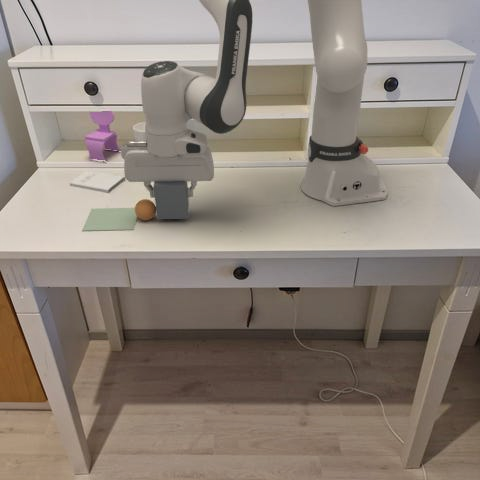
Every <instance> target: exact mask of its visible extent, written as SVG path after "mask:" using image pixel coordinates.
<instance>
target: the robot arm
mask: <svg viewBox="0 0 480 480" xmlns="http://www.w3.org/2000/svg"><path fill="white" fill-rule="evenodd" d="M198 1H199V3H200V4H201V5H202V6H203V8H204V9H205V10H206V11H207V12H208V13H209V14H210V15H211V16H212V18H213V20H214V21H215V23H216V25H217V28H218V31H219V46H218V57H217V68H216V75H215V78H214V77H212V76H210V75H208V74H205V73H202V72H199V71H193V70H189V69H187V68H185V67H182V66H181V65H180V64H178V63H177V62H176V61H172V60H164V61H158V62H154V63H151V64H149V65H148V66H147V67H146V68H144V70H143V72H142V73H141V74H142V75H141V81H140V82H141V83H140V88H141V89H140V90H141V91H140V93H141V104H142V111H143V114H144V117H145V122H146V124H145V132H146V140H147V141H136V142H135V141H133V140H131V141H130V140H129V141H126V142H125V143H123V144H122V145H121V147H120V150H121V154H120V155H121V158H122V159H123V160H124V162H123V163H124V165H123V170H124V171H123V172H124V173H123V174H124V177H125V180H126V181H127V182H128V183H142V182H143V185H144V187H145V189H146V190H147V191H148V192H149V196H150V198H154V199H155V195H154V186H152V183H154V182H165V181H187V182H190V187H188V188H187V190H186V194H187V197H188V198H193V197H194V190H195V188H196V187H197V185H198V182H210V181H213V179H214V178H215V165H214V159H213V153H212V151H211V149H210V147H209V146H208V137H207V135H206V134H205V133H202V132H199V131H195V130H193V129H189V128H187V122H188V121H189V120H194V121H196V122H198V123H200V124H202V125H204V126H205V127H206V128H207V129H209V130H210V131H212V132H213V133H216V134H220V135H221V134H227V133H229V132H231V131H233V130H235V129H236V128H237V127H239V125H240V124H241V123H242V122H243V120H244V117H245V115H246V112H247V89H246V88H247V76H248V67H249V57H250V50H251V48H250V47H251V40H252V32H253V31H252V30H253V7H252V4H251V2H250V0H198ZM307 5H308V12H309V19H310V20H309V21H310V33H311V42H312V49H313V59H314V64H315V65H314V67H315V73H316V75H317V80H316V88H315V96H314V101H313V102H314V103H313V113H312V123H311V124H312V125H311V135H310V136H309V139H308V144H307V145H308V146H307V159H308V161H307V164H306V165H307V167H306V169H305V174H304V177H303V178H302V179H303V180H302V182H301V185H300V189H301V191H302V192H303V193H304V194H306V195H307V196H308V197H310V198H313V199H315V200H319V201H320V202H321V201H322V202H323V203H325V204H327V205H330V206H333V207H338V206H344V205H345V206H346V205H353V204H354V205H355V204H361V203H369V202H375V201H376V202H377V201H383V200H386V199H387V198H388V187H387V185H386V183H385V182H384V181H383V179H381V173H380V169H379V167H378V166H377V164H376V163H375V162H374V161H373V160H372V159H371V158H369V157H368V156H366V154H367V153H368V152H369V148H368V146H367V144H365V143H364V142H363V140H361V139H359V138H360V137H358V136H357V133H358V127H359V126H358V125H359V122H360V121H359V118H360V115H361V114H360V113H361V104H362V96H363V86H364V81H365V80H364V79H365V74H366V71H367V68H368V43H367V40H366V36H365V27H364V26H365V25H364V16H363V6H362V5H363V4H362V0H307Z"/></svg>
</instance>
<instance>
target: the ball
mask: <svg viewBox="0 0 480 480" xmlns="http://www.w3.org/2000/svg"><path fill="white" fill-rule="evenodd" d="M134 208H135V213H136V215H137V216H138V217H137V218H139V219H141V220H143V221H149V220H152V218H154V217H155V215H156V214H157V213H156V204H155V202H154V201H152V200H151V199H147V198H145V199H140V200H138V202H137V203H136V204H135V207H134Z"/></svg>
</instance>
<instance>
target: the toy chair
mask: <svg viewBox="0 0 480 480" xmlns="http://www.w3.org/2000/svg"><path fill="white" fill-rule="evenodd" d="M89 116H90V119H91V120H92V122H93V123H94V124H96V125H98V127H99V128H97V129H95V130H94V131H93V132H90V133H89V134H87V135H85V137H84V138H85V145H86V147H87V149H88V150H87V151H88V153H89V159H97V160H105V161H106V160H107V159H106V158H105V155H104V154H103V153H104V152H103V150H104V148H105V149H111V150H117V151H121V147H119V146H118V142H117V141H118V139H117V138H118V135H117V132H116V131H115V130H114V131H113V130H110V129H111V128H110V125H111V124H112V123H113V122H114V120H115V114H114V112H113V111H112V110H111V111H102V112H90V111H89Z"/></svg>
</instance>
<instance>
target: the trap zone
mask: <svg viewBox="0 0 480 480" xmlns="http://www.w3.org/2000/svg"><path fill="white" fill-rule="evenodd" d="M138 218H139V217H138V216H137V215H136V213H135V207H112V208H111V207H106V208H103V207H102V208H101V207H100V208H91V209H90V211H89V213H88V215H87V219H85V220H86V221H85V222H84V225H83V227H82V230H81V232H103V231H104V232H107V231H108V232H109V231H113V232H115V231H134V230H135V226H136V223H137V220H138Z"/></svg>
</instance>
